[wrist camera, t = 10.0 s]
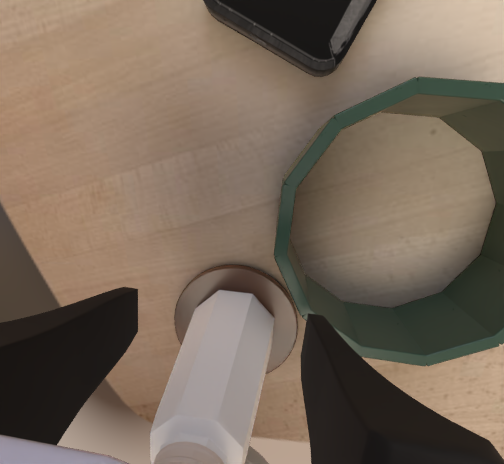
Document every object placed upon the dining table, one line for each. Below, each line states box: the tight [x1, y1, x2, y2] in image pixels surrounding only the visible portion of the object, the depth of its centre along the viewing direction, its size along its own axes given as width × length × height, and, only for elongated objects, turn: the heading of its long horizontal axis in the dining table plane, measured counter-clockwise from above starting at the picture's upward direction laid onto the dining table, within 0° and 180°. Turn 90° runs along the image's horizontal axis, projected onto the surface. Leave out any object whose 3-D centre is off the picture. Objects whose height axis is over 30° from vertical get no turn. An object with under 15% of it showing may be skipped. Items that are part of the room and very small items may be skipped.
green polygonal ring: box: [274, 77, 504, 366], centre depth 14 cm, size 12×12×4 cm
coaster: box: [174, 265, 298, 374], centre depth 19 cm, size 8×8×1 cm
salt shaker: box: [150, 290, 274, 464], centre depth 13 cm, size 5×5×11 cm
